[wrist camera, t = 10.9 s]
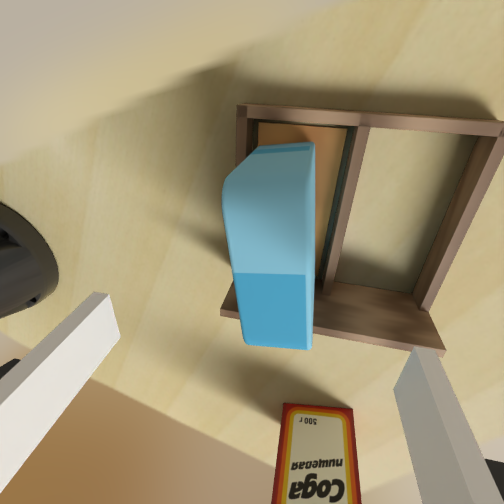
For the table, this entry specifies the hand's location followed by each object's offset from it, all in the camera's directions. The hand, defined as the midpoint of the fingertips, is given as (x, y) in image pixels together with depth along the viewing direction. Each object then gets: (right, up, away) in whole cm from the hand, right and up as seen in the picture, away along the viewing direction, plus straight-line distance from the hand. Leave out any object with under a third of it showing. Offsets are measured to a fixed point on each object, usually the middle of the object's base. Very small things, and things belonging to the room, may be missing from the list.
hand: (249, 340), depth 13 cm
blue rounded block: (+4, +8, +14) cm, 17 cm away
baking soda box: (+10, -20, +29) cm, 37 cm away
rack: (+8, +7, +13) cm, 17 cm away
